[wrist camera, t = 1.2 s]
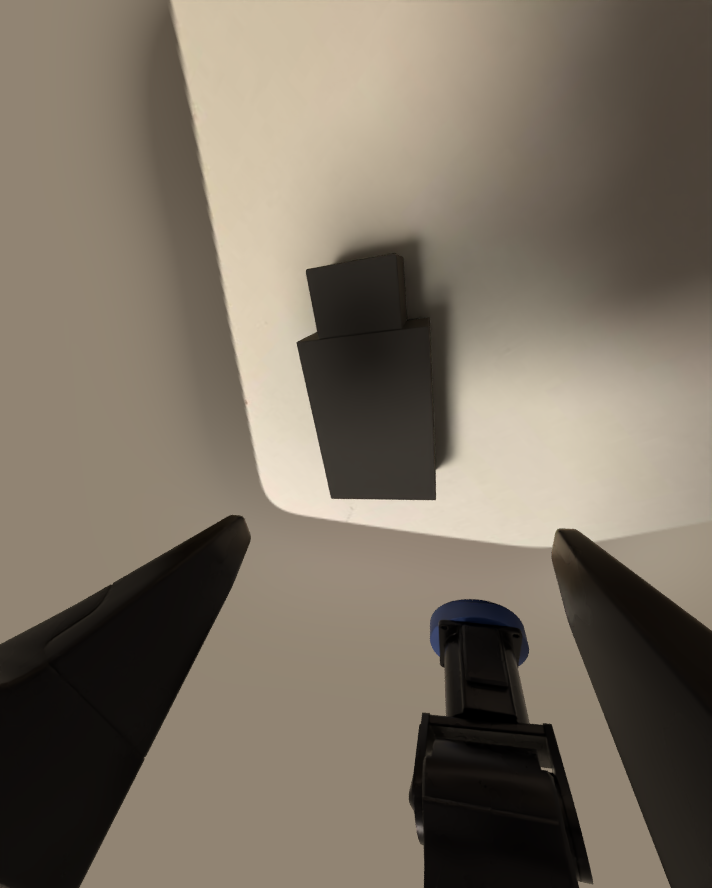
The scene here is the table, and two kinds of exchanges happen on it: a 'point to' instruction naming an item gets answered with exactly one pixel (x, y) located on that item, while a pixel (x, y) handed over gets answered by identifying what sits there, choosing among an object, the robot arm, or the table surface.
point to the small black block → (370, 382)
